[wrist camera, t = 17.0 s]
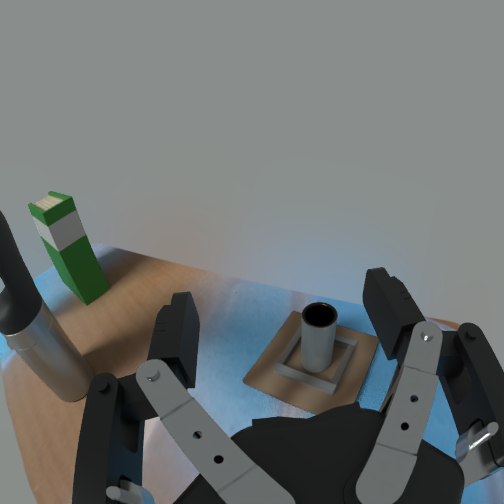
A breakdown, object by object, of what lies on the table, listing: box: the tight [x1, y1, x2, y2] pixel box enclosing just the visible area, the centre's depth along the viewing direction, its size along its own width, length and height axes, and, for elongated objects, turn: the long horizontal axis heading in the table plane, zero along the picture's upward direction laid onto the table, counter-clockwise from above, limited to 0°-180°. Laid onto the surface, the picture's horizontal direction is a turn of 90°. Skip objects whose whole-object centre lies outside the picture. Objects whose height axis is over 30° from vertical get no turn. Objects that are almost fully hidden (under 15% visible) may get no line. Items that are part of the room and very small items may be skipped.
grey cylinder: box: [301, 302, 338, 373], centre depth 38 cm, size 4×4×10 cm
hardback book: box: [28, 191, 110, 306], centre depth 58 cm, size 18×7×24 cm, turn 55°
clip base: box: [243, 311, 379, 415], centre depth 40 cm, size 16×16×2 cm
